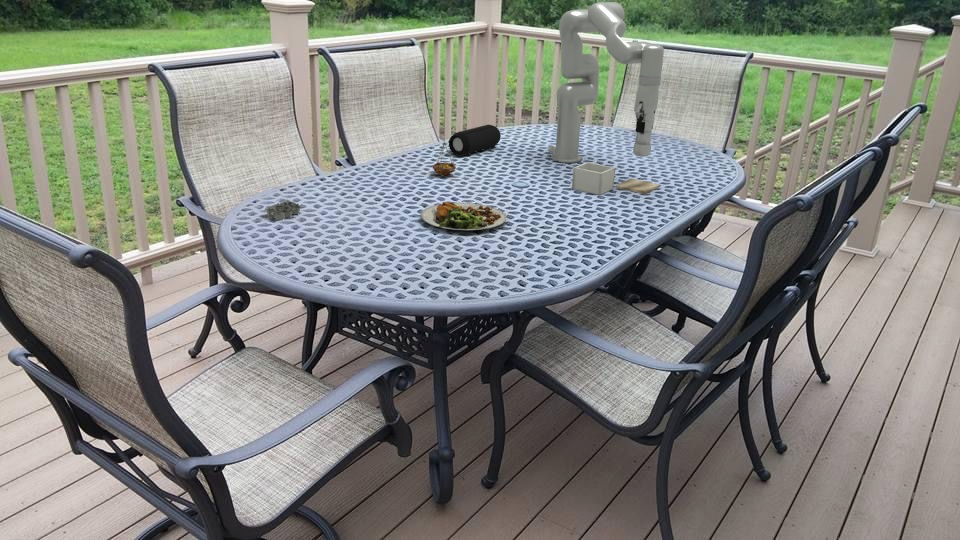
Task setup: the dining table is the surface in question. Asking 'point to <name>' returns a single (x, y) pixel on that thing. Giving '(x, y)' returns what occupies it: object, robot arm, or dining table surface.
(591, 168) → the bin
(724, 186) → the dining table surface
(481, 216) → the plate of food
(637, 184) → the pad
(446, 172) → the bird feeder
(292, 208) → the dark grey rough lump
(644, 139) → the plastic bottle
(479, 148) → the portable speaker
